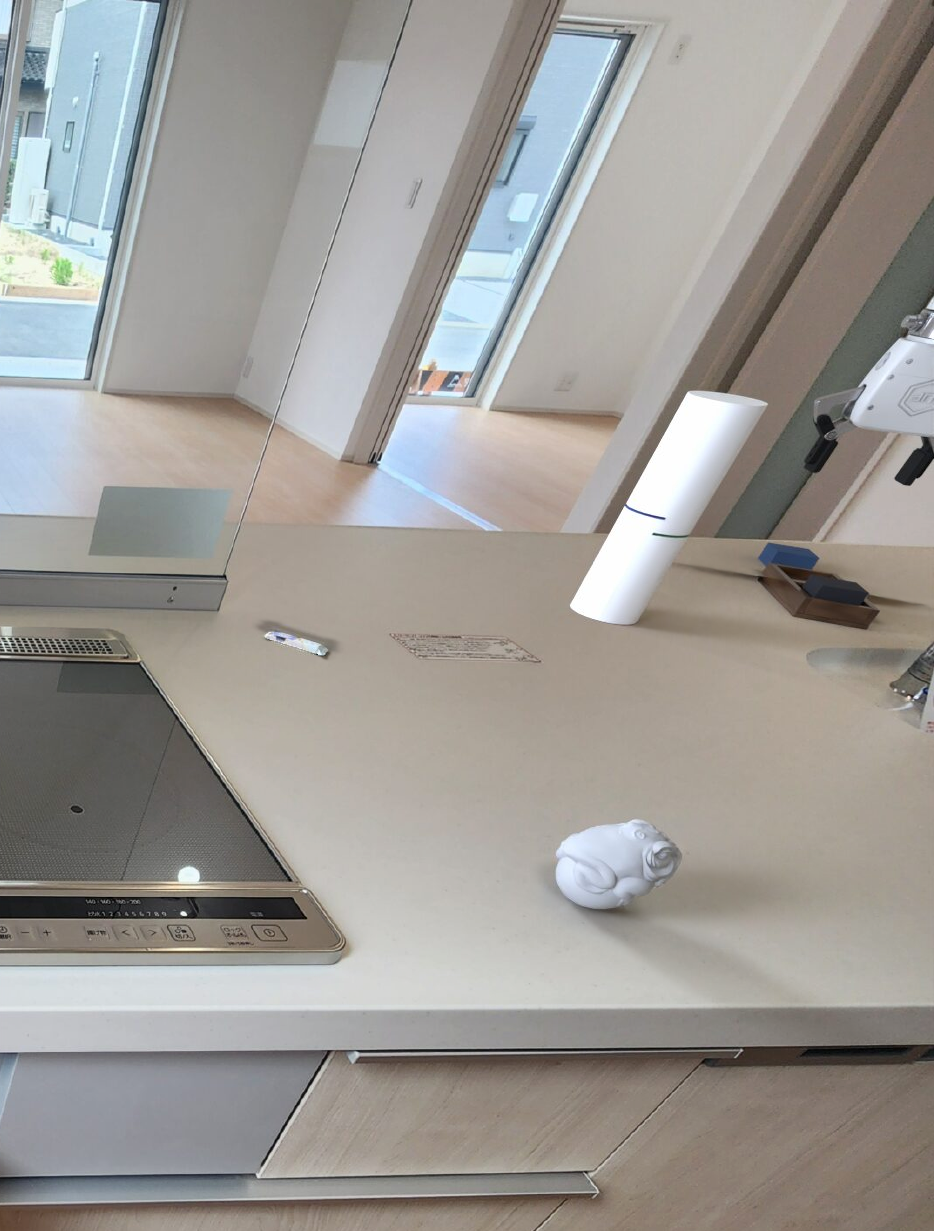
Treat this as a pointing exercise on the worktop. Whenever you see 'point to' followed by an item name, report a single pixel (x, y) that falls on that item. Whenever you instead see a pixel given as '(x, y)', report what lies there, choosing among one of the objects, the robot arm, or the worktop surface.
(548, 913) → the worktop surface
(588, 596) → the cylindrical container
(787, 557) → the pad blue
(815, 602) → the holder
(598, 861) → the frog figurine
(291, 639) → the granola bar
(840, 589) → the pad charcoal
